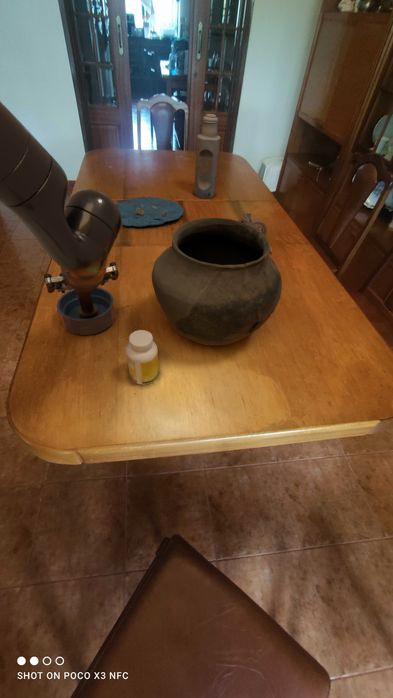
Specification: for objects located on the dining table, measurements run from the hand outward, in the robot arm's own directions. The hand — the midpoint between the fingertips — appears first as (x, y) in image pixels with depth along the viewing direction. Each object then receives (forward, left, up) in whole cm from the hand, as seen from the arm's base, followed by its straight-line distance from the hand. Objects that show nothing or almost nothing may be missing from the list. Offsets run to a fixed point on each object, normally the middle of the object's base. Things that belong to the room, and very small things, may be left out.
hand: (82, 284), depth 71 cm
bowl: (0, +4, -13) cm, 14 cm away
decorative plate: (+35, +59, -13) cm, 70 cm away
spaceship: (+65, +25, -13) cm, 71 cm away
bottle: (+67, +71, -13) cm, 98 cm away
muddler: (0, +4, -12) cm, 13 cm away
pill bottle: (+7, -19, -13) cm, 25 cm away
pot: (+29, -11, -13) cm, 34 cm away
